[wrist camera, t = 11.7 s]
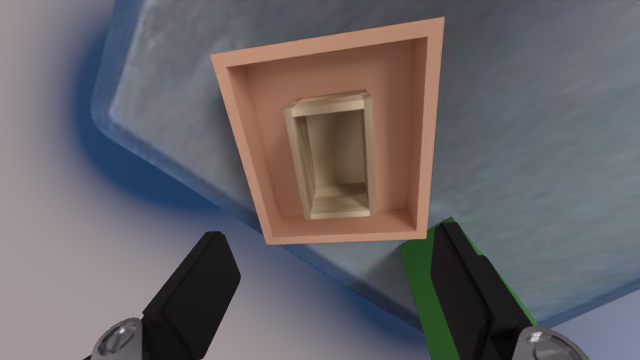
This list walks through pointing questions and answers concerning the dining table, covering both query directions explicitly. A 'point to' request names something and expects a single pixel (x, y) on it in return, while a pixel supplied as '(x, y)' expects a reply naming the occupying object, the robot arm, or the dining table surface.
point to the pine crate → (334, 154)
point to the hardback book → (434, 295)
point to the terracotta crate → (326, 78)
